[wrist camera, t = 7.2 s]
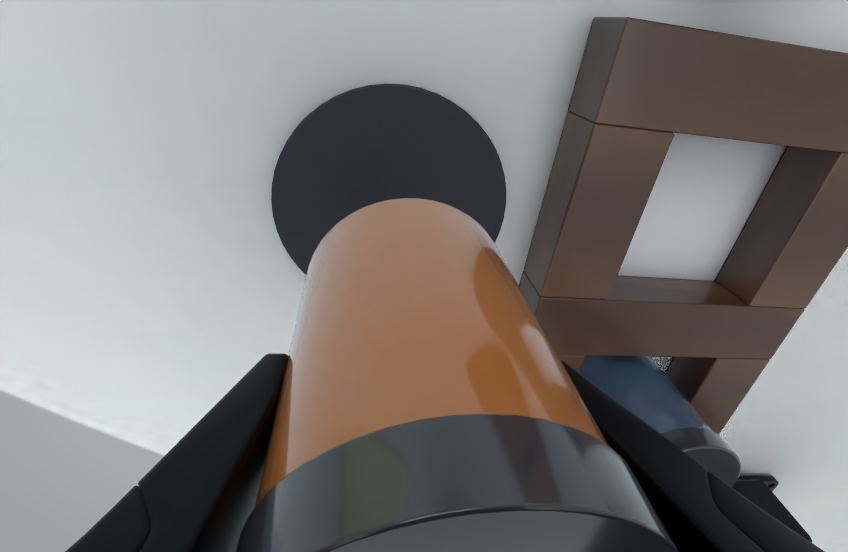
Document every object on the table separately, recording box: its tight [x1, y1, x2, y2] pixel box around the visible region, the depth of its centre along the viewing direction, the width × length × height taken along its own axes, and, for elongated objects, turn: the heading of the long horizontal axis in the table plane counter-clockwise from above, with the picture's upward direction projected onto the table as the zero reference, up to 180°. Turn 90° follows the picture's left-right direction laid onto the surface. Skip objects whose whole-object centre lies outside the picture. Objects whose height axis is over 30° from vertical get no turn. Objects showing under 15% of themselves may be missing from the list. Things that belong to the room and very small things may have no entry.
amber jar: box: [236, 198, 680, 552], centre depth 9 cm, size 6×6×8 cm
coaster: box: [272, 84, 506, 275], centre depth 17 cm, size 9×9×1 cm
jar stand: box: [519, 17, 848, 435], centre depth 20 cm, size 23×13×2 cm, turn 173°
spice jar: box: [578, 355, 741, 487], centre depth 21 cm, size 5×5×6 cm
